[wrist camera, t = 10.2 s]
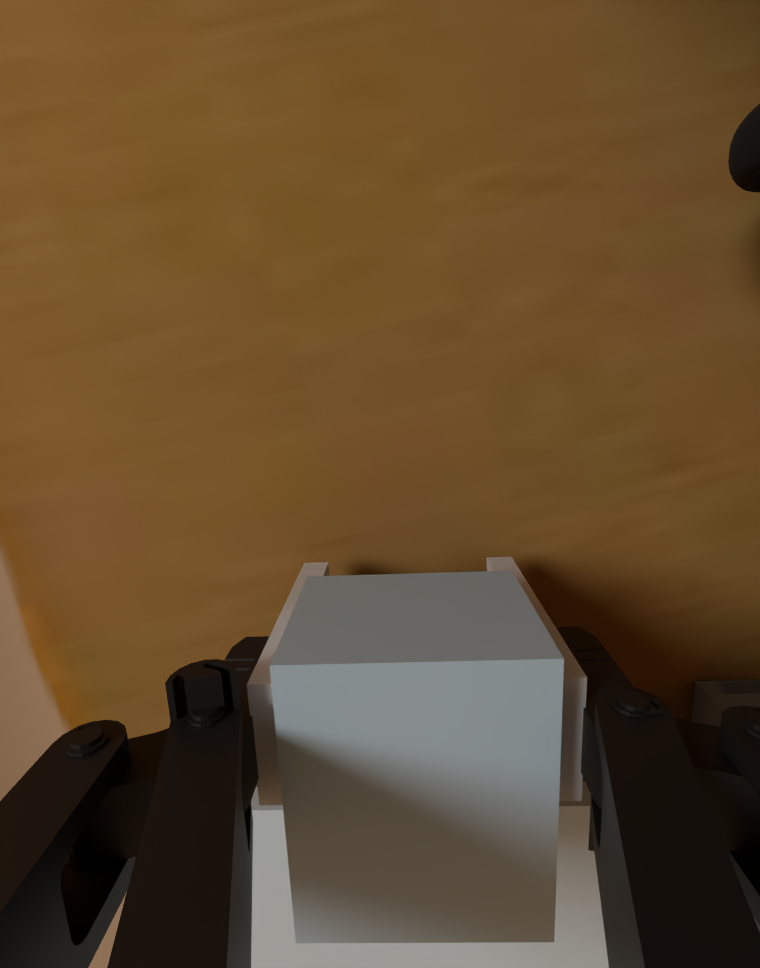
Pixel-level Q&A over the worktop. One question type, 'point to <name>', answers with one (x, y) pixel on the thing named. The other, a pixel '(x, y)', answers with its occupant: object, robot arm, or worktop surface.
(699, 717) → the tub
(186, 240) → the worktop surface
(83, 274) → the worktop surface
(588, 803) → the lid
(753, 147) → the mug
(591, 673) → the robot arm
